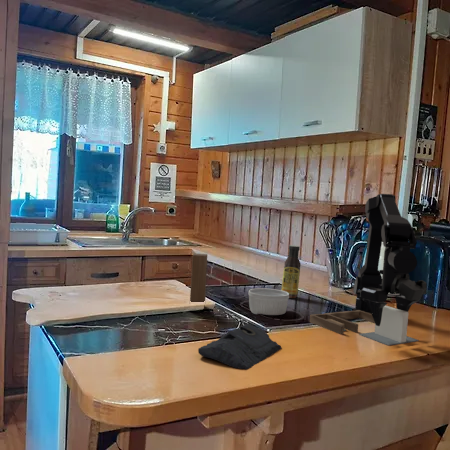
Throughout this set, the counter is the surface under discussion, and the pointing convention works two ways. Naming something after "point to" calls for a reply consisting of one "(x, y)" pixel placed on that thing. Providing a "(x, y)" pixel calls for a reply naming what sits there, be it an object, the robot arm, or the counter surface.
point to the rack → (340, 320)
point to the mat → (386, 339)
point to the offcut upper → (336, 322)
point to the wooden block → (198, 277)
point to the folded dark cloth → (241, 347)
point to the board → (393, 324)
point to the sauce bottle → (291, 272)
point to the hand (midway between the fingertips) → (389, 324)
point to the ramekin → (268, 301)
